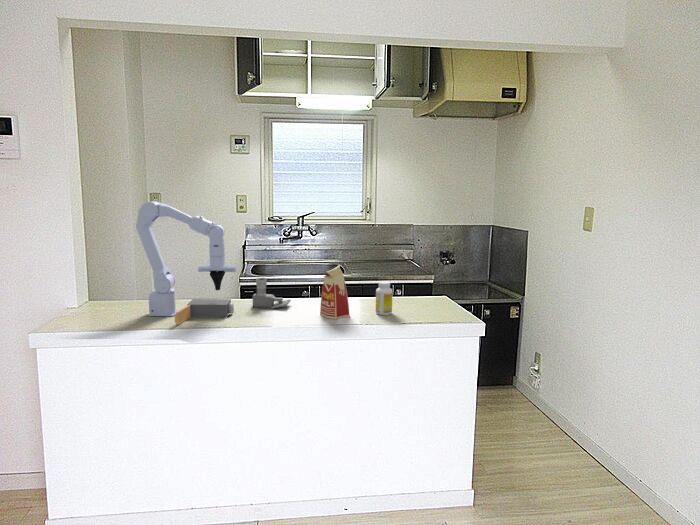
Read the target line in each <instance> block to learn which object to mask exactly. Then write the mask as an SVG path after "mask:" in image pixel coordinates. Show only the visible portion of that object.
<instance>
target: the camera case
mask: <svg viewBox="0 0 700 525" xmlns="http://www.w3.org/2000/svg"><path fill="white" fill-rule="evenodd" d="M188 305H190V306H191V317H190V318H228V316H229V315H230V314H234V310H235V305H234V303H233V302H232V300H231V298H229V299H228V298H192V299H191V300H190V301H189V302H188V303H187V304H186V306H188ZM229 313H230V314H229ZM228 314H229V315H228Z"/></svg>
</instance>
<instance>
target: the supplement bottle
mask: <svg viewBox="0 0 700 525" xmlns="http://www.w3.org/2000/svg"><path fill="white" fill-rule="evenodd" d="M377 285H378V288H376V290H375V313H376V314H377V315H379V316H388V315H391V314H393V289H392V288H391V287H390V286H391V282H390V281H387V280H386V281H385V280H383V281H382V280H381V281H379V282H378V284H377Z"/></svg>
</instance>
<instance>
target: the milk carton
mask: <svg viewBox="0 0 700 525" xmlns="http://www.w3.org/2000/svg"><path fill="white" fill-rule="evenodd" d="M323 277H324V279H323V283H322V288H321V296H320V297H321V298H320V299H321V300H320V310H319V313H320V314H319V315H320V316H322V317H324V318H326V319H332V320H338V319H342V317H343V318H347V317H351V316H350V305H349V298H348V290H347V285H346V280H345V277H344V273H343V271H342V269H341V265H340V264H339V265H337V266H336V267H334V268H333V269H330V270H328V271H326V274H325V275H324V276H323Z"/></svg>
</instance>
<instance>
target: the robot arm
mask: <svg viewBox="0 0 700 525" xmlns="http://www.w3.org/2000/svg"><path fill="white" fill-rule="evenodd" d="M137 213H138V215H137V220H136V224H135V227H136V231H137V233H138V236H139V238H140V241H141V243H142V247H143V249H144V251H145V254H146V257H147V259H148V261H149V264H150V267H151V269H152V277H153V287H154V290H155V291H150V292H149V295H148V312H149V313H148V317H175V314H176V312H178V311H179V309H176V289H175V288H174V285H175V283H176V277H175V276H174V274H173V273H171V271H170V269H169V268H168V266H167V265H166V263H165V261H164V258H163V255H162V252H161V249H160V247H159V245H158V242H157V240H156V239H157V238H156V237H155V234H154V232H153V228H152V227H153V225H154V223H155V221H156V220H157V219H158V218H165V217H169V218H172V219H174V220H176V221H179V222H182V223H185V224H187V225H188V227H189V228H190V230H192V231H195V232H196V233H199V234H201V235H203V236H207V237H208V238H209V250H208V251H209V265H203V266H202V265H201V266H200V265H199V266H198V267H197V271H198V273H200V272H201V273H202V272H204V273H205V272H206V273H207V272H210V273H209V276H210V278H211V279H212V282H213V284H214V285H213V286H214V288H215V291H220V290H221V286H222V281H223V278H224V276H225V274H226V273H237V266H232V265H230V266H229V265H226V263H225V262H226V261H225V260H226V258H225V256H226V255H225V238H224V235H225V229H224V227H223V226H222V225H220V224H218V223H215V221H210V220H207V219H205V218H204V216H202V215H194V216H191V215H189V214H188V213H185V212H183V211H181V210H179V209H177V208H175V207H173V206H171V205H168V204H166V203H163V202H159V201H157V200H152V201H151V200H150V201H146V202H144V203H143V204H142V205H141V206H140V207H139V209H138V211H137Z"/></svg>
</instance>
